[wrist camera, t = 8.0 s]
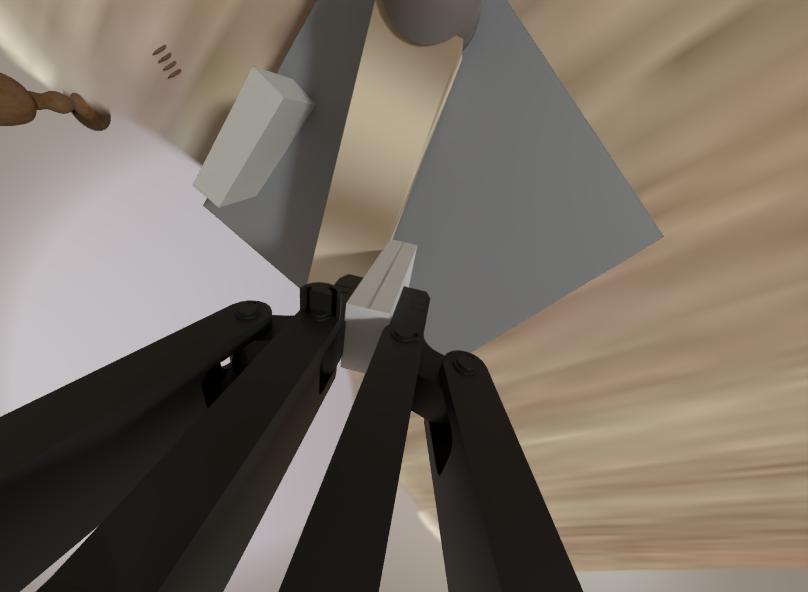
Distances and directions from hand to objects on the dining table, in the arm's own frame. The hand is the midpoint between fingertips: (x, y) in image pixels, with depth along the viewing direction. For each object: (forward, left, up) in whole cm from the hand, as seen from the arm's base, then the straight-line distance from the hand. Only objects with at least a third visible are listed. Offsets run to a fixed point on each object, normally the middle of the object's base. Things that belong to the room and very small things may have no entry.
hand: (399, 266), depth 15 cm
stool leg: (-4, +2, -1) cm, 5 cm away
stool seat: (-1, +2, -4) cm, 4 cm away
